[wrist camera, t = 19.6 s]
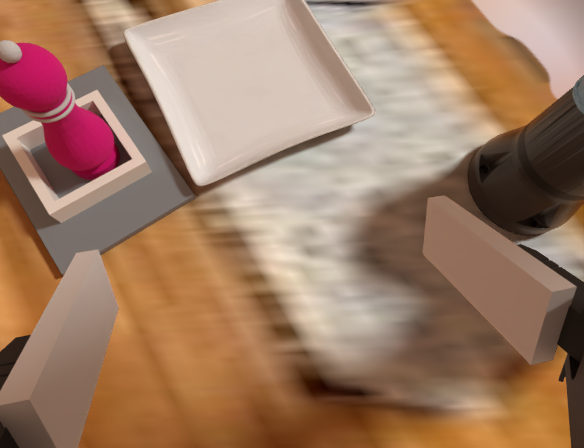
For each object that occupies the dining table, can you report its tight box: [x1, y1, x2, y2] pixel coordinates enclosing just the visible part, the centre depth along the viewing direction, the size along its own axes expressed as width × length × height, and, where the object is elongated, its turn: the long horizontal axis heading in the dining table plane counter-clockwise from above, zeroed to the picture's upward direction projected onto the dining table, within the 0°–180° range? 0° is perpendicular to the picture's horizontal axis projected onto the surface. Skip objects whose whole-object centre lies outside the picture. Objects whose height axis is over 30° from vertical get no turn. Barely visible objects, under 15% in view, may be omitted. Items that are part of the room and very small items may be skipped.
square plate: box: [123, 0, 376, 186], centre depth 57 cm, size 27×27×4 cm
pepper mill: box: [0, 40, 120, 180], centre depth 42 cm, size 7×7×20 cm
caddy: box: [0, 65, 196, 275], centre depth 50 cm, size 18×24×4 cm
